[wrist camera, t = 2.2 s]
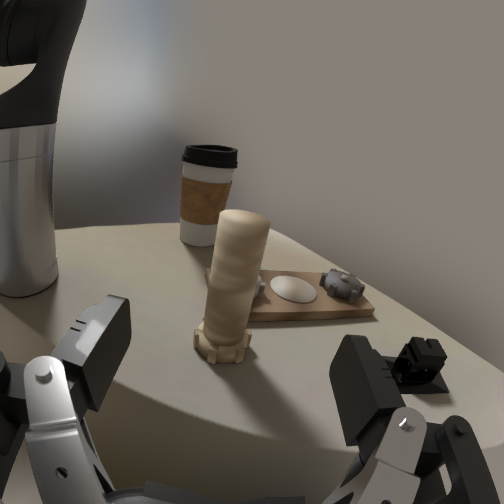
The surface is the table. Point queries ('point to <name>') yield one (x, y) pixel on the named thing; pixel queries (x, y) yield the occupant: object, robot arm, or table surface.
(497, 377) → the table surface
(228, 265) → the spindle gear
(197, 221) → the coffee cup
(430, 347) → the black block stand
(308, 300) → the gear board
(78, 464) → the robot arm
